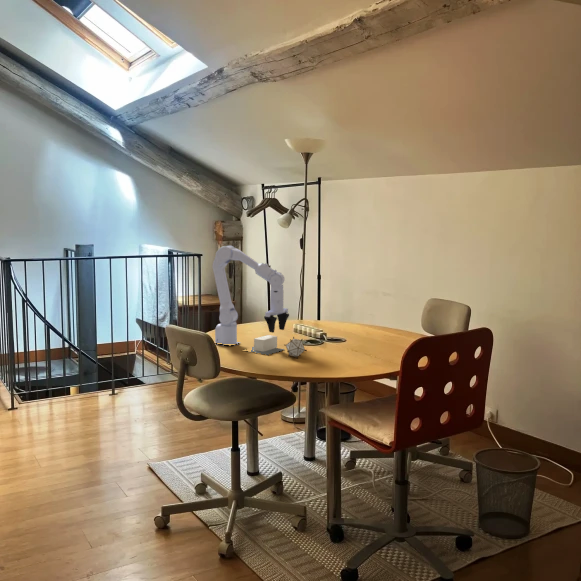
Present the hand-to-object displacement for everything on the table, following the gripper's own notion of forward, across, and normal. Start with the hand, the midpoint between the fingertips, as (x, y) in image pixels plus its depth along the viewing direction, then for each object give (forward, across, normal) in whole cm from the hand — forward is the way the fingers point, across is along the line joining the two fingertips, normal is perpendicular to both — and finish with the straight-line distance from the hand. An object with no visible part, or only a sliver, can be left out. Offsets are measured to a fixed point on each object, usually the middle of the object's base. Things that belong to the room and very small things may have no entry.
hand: (276, 330), depth 271 cm
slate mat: (+7, -10, 0) cm, 12 cm away
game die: (+7, -12, -18) cm, 23 cm away
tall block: (+4, -3, 0) cm, 5 cm away
